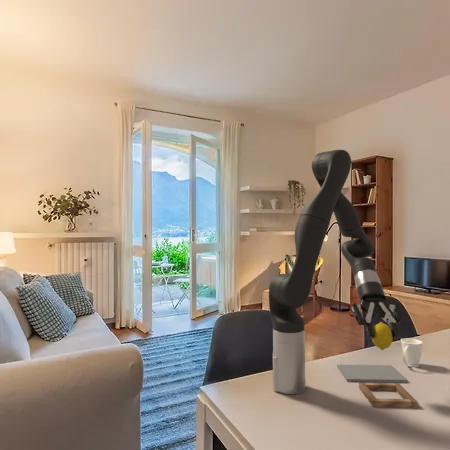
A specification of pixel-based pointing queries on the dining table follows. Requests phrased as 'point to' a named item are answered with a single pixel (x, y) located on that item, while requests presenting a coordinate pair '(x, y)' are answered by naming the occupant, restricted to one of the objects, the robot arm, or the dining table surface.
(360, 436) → the dining table surface
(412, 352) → the cup
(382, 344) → the lemon
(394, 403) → the square seat
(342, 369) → the mat
